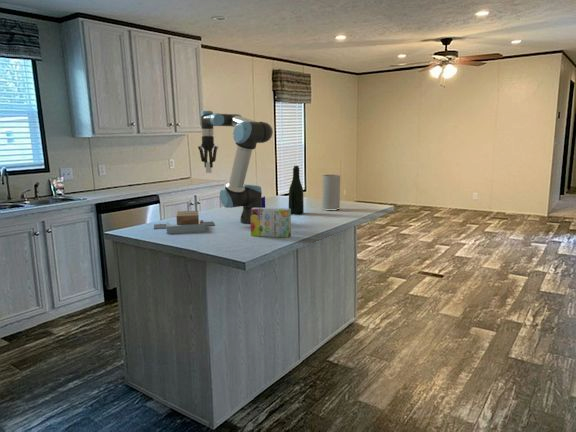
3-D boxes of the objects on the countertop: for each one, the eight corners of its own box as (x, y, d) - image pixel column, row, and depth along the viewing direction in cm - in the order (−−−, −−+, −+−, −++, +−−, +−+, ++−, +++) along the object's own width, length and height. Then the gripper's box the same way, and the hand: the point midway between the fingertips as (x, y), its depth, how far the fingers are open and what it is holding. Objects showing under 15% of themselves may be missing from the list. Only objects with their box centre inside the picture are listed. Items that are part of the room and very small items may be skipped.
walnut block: (178, 226, 262) (177, 211, 260) (198, 225, 264) (198, 210, 263) (177, 232, 247) (176, 216, 245) (198, 231, 249) (198, 215, 247)
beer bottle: (285, 213, 305) (285, 165, 299) (297, 211, 311) (297, 165, 305) (294, 215, 296) (294, 166, 291) (306, 213, 303) (307, 165, 297)
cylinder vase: (318, 209, 320) (319, 175, 316) (330, 207, 328) (330, 174, 324) (331, 211, 311) (332, 176, 307) (343, 209, 319) (343, 175, 315)
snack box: (291, 235, 237) (291, 208, 234) (288, 238, 231) (288, 210, 229) (253, 233, 241) (253, 206, 239) (250, 236, 236) (249, 208, 233)
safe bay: (166, 228, 254) (166, 222, 253) (203, 226, 260) (202, 220, 259) (166, 233, 241) (166, 226, 241) (205, 231, 247) (205, 224, 246)
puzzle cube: (261, 212, 310) (261, 198, 308) (248, 211, 312) (247, 197, 310) (265, 209, 319) (265, 196, 318) (252, 209, 321) (251, 195, 320)
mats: (154, 225, 264) (154, 224, 264) (212, 222, 274) (212, 221, 274) (153, 229, 253) (153, 228, 253) (214, 225, 263) (214, 224, 263)
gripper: (220, 135, 283) (221, 172, 287) (199, 135, 286) (201, 172, 290) (215, 135, 275) (216, 173, 280) (194, 135, 279) (196, 172, 283)
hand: (208, 172), depth 285 cm, fingers closed
